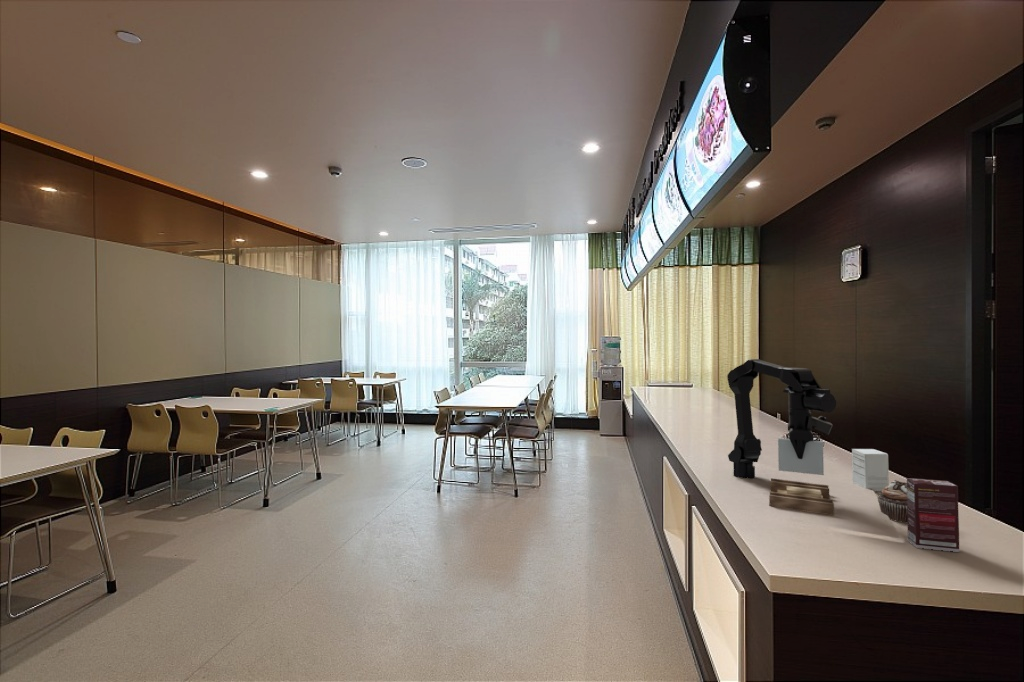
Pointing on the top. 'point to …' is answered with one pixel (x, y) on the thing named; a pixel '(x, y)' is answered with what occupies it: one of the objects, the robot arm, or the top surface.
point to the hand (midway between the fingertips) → (800, 458)
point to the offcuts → (802, 492)
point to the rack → (800, 497)
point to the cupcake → (894, 501)
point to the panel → (808, 463)
